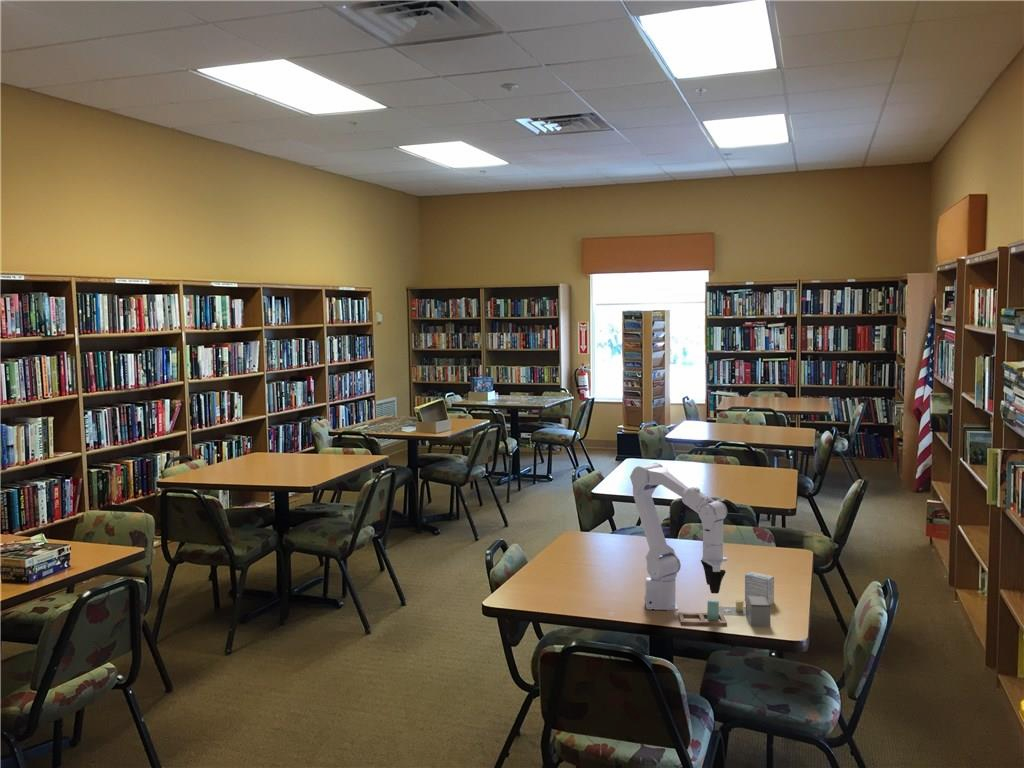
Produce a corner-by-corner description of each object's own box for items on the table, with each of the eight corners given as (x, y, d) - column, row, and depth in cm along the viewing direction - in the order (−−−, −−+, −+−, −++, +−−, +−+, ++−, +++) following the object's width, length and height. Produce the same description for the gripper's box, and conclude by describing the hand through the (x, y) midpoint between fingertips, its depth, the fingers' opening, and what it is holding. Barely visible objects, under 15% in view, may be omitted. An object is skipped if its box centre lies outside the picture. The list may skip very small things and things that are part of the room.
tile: (720, 615, 239) (720, 604, 239) (716, 607, 246) (716, 597, 246) (751, 616, 238) (751, 605, 238) (746, 608, 245) (746, 597, 245)
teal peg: (708, 623, 233) (709, 603, 232) (706, 619, 236) (706, 599, 235) (719, 623, 233) (720, 603, 232) (716, 619, 236) (717, 599, 235)
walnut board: (681, 625, 231) (681, 621, 231) (678, 616, 239) (678, 612, 239) (726, 626, 230) (726, 622, 230) (722, 617, 238) (722, 613, 238)
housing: (745, 617, 238) (745, 595, 237) (764, 617, 237) (764, 596, 237) (751, 627, 230) (751, 605, 229) (770, 627, 229) (770, 605, 229)
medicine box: (774, 603, 249) (774, 576, 248) (768, 607, 246) (768, 579, 245) (750, 597, 254) (750, 571, 254) (744, 601, 251) (744, 574, 250)
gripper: (731, 550, 225) (731, 597, 226) (722, 536, 239) (722, 580, 240) (705, 549, 226) (705, 596, 227) (698, 536, 240) (698, 580, 241)
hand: (712, 588), depth 233 cm, fingers open, 7 cm apart
